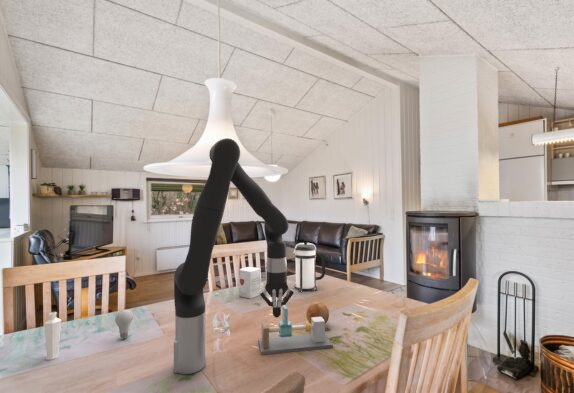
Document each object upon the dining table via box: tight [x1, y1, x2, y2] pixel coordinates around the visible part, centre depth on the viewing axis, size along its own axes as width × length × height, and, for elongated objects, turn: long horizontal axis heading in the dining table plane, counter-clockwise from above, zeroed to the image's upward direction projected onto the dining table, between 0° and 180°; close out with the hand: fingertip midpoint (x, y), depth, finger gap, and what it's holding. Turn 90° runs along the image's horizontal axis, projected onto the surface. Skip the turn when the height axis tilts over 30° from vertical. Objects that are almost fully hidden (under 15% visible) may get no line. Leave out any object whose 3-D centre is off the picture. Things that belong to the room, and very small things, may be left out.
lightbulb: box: [114, 309, 134, 340], centre depth 114 cm, size 6×6×11 cm
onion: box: [305, 300, 330, 325], centre depth 126 cm, size 10×10×10 cm
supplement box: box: [238, 266, 262, 300], centre depth 166 cm, size 9×9×15 cm
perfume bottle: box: [43, 311, 62, 361], centre depth 101 cm, size 5×4×15 cm
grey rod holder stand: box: [258, 317, 334, 355], centre depth 109 cm, size 26×10×8 cm, turn 101°
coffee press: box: [292, 238, 326, 293], centre depth 179 cm, size 17×16×30 cm
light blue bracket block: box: [278, 304, 293, 337], centre depth 109 cm, size 4×4×10 cm
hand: (276, 316), depth 108 cm, fingers closed
